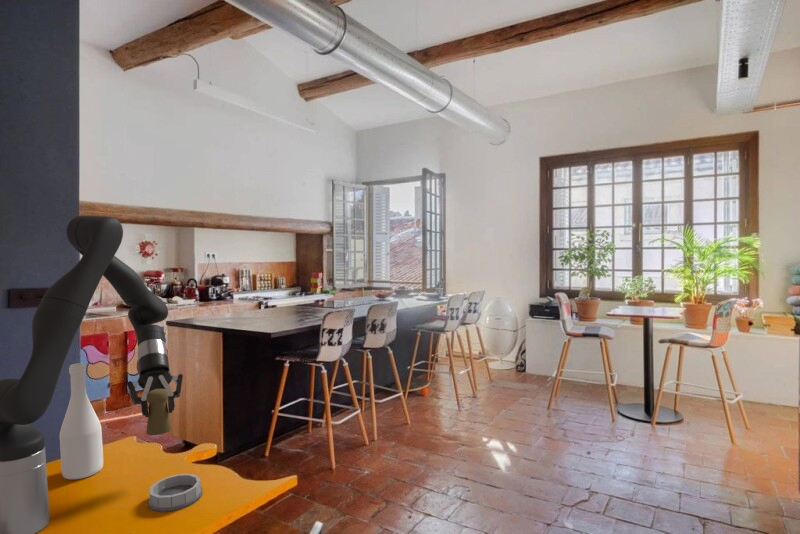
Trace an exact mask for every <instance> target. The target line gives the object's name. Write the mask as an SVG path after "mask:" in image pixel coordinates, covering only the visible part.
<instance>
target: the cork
mask: <svg viewBox="0 0 800 534" xmlns="http://www.w3.org/2000/svg"><path fill="white" fill-rule="evenodd" d="M168 396H169V394H168V391H167V390H166V389H155V390H151V391H150V392H148V394H147V404H148V417H147V422H146V433H145V434H146V435H148V436H158V435H164V434H166V433H169V432H171V430H172V423H171V418H170V413H169V409H168Z"/></svg>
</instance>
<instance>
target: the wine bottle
mask: <svg viewBox="0 0 800 534" xmlns="http://www.w3.org/2000/svg"><path fill="white" fill-rule="evenodd" d="M85 372H86V365H85V363H82V362H81V363H72V364H70V365H69V367H68V373H69V375H70V397H69V403H68V406H67V409H66V411H65V415H64V418H63V421H62V424H61V427H60V431H59V451H60V463H61V464H60V465H61V476H62V477H63V478H64V479H66V480H81V479H85V478H89V477H92V476H93V475H95V474H97V473H99V472H100V471H101V470H102V468H103V467H104V450H103V434H102V432H103V431H102V424H101V422H100V419H99V417H98V415H97V414H96V412H95V409H94V407H93V405H92V403H91V402H90V399H89V396H88V393H87V386H86V385H87V384H86V374H85Z"/></svg>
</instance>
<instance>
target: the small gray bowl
mask: <svg viewBox="0 0 800 534" xmlns="http://www.w3.org/2000/svg"><path fill="white" fill-rule="evenodd" d="M201 483H202V481H201V479H200V477H199V476H198V475H196V474H192V473H179V474H174V475H171V476H167V477H164V478H162V479H160V480H158V481H156V482H154V484H152V486H150V488H149V489H148V490H149V498H148V500H147V506H148V508H149V510H151V511H153V512H158V513H168V512H169V513H170V512H176V511H179V510H182V509H186V508H188V507H189V506H191V505H193V504H195V503H196V502H198V501H199V500H200V499H201V497H202V496H203V488H202V484H201Z"/></svg>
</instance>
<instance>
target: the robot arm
mask: <svg viewBox="0 0 800 534" xmlns="http://www.w3.org/2000/svg"><path fill="white" fill-rule="evenodd" d="M123 228H124V227H123V225H122V223H121V222H120V221H119V220H118V219H116V218H115V217H112V216H106V215H105V216H104V215H102V216H101V215H79V216H75V217H73V218H72V219H70V220H69V222H68V224H67V226H66V232H65V233H66V237H67V240H68V242H69V243H70V245H71V246H72V247H73V248H74V249H75V250H76V251H77V252H78V253H79V254H80V255H81V258H80V260H79V261H78V262H77V263H76V264H75V265H74V266H73V267H72V268H71V269H70V270H69V271H67V272H66V273H64V275H62V276H61V277H60V278H59V279H57V280H56V281H55V282H54V283H53V284H52V285H51V286H50V287H49V288H48V289H47V290H46V292H45V293H44V294H43V297H42V298H41V300H40V302H39V304H38V306H37V309H35V312H34V315H33V317H32V322H31V323H32V324H31V337H32V350H31V355H30V358H29V361H28V363H27V365H26V367H25V369H24V371H23V374H22V375H21V377H20V378H4V379H3V378H2V379H0V534H36V533H38V532H40V531H42V530H43V529H45V528H46V527H47V526H48V525H49V523H50V507H49V506H50V505H49V503H50V502H49V488H48V487H49V486H48V485H49V484H48V473H47V457H46V455H47V454H46V442H45V441H46V440H45V435H44V433H42V432H41V431H40V430H38V429H37V428H36V426H34V424H33V423H35V422H36V421H38V420H39V419H40V418H42V416H43V415H44V414H45V413H46V411H47V410H48V408H49V406H50V404H51V401H52V399H53V398H54V394H55V390H56V387H57V384H58V381H59V378H60V374H61V371H62V368H63V366H64V363H65V361H66V358H67V356H68V353H69V351H70V349H71V346H72V344H73V341H74V339H75V336H76V334H77V332H78V330H79V328H80V326H81V324H82V322H83V320H84V319H85V315H86V313H87V311H88V308H89V306H90V303H91V301H92V298H93V296H94V294H95V293H96V290H97V288H98V286H99V284H100V281H101V280H102V277H104V279H106V280H107V281H108V283H109V284H110V285H111V286H112V287H113V289H114V290H115V291H116V293H117V295H118V296H119V297H120V298H121V300H122V301H123V303H124V304H125V305H126V306H128V307H129V310H128V313H127V317H128V320H129V322H130V324H131V326H132V328H133V329H134V333H135V334H136V335H135V336H136V340H137V365H138V379H137V380H134V381H131V380H129V381H128V382H126V387H127V388H126V389H127V391H128V394H129V396H130V399H131V402H132V404H133V405H140V406H141V407H140V408H141V409H140V410H141V415H142V416H144V418H145V419H146V418H148V411H149V403H148V402H147V394H148V392H150V391H151V390H155V389H166V390H167V391H168V394H169V396H168V399H167V407H168V412H169V414H172V413H173V411H175V408H176V407H175V406H176V405H175V399H177V398H180V397H181V390H182V385H183V377H184V374H182V373H179V374H178V375H174V374H172V373H171V371H170V363H169V355H168V349H167V344H166V339H165V332H164V328H162V326H160V325H159V324H158V325H157V323H161V322H163V321H165V320H166V319H167V318H168V316H169V309H168V306H167V304H166V303H165V302H164V301H163V300H162V299H161V298H160V297H159V296H158V295H156V294H155V293H154V292H152V291H151V290H150V289H148V287H147V286H146V284H145V283H144V281H143V278H141V277H140V275H139V274H138V273H137V272H136V271H135V270H134V269H133V268H131V266H129V265H128V264H126V263H125V262H123V261H122V260H121V259H120V258H118V257H117V256H116V254H117V252H118V251H119V248H120V246H121V244H122V241H123V237H124V229H123ZM172 381H173V383H174V384H176V386H175V390H174V391H173V390H172V389H171V386H170V383H171V382H172ZM138 386H139V387H140V388H141V389H143V393H142V396H141V397H139V396H138V395H139V394H138V393H137V391H136V390H137V389H138Z"/></svg>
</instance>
